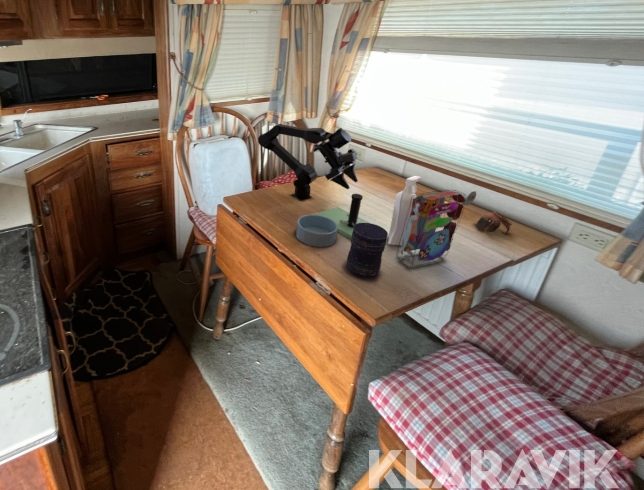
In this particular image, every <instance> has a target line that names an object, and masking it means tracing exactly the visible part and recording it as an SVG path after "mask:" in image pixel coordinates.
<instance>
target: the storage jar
mask: <svg viewBox="0 0 644 490" xmlns="http://www.w3.org/2000/svg"><path fill="white" fill-rule="evenodd" d="M388 237H389V232H388V231H387V229H385V228H384V227H382V226H380V225H378V224H375V223H371V222H369V223H358V224H356V225H354V228H353V233H352V237H351V239H350V248H349V250H348V254H347V257H346V265H345V269H346V271H347V272H348V273H349V274H350V275H352V276H354V277H355V278H357V279H359V280H365V281H366V280H367V281H369V280H370V281H371V280H375V279H377V278H378V276H379V272H380V270H381V266H382V256H383V253H384V251H385V249H386V245H387V240H388Z"/></svg>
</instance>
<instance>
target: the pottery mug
mask: <svg viewBox="0 0 644 490" xmlns="http://www.w3.org/2000/svg"><path fill="white" fill-rule="evenodd" d="M501 225H503V226H504V227H505V228H506V230H505V232H504V234H508V233H509V232H510V230H511V226H512V225H513V223H512V222H511V221H510V220H509V219H507V218H506V217H505V216H503V215H501V214H500V213H499V212H498V211H495V210H492V211H491V212H488V213H485V214H483V215H482V216H481V217H480V218H479V219H478V220H477V222H476V223H475V226H476V228H478V230H479V231H481V232H484V230H485V231H486V232H487V233H494V232H495V231H496V230H497V229H499V228H500V227H501Z"/></svg>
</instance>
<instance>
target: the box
mask: <svg viewBox="0 0 644 490" xmlns="http://www.w3.org/2000/svg"><path fill="white" fill-rule="evenodd" d="M415 196H416V198H415V199H414V198H413V203H412V210H411V214H410V217H409V220H408V222H407V226H406V231H405V234H404V236H403V241H402V246H401V248H400V246H399V245H397V250H396V253H395V254H396V255H395V256H396V258H397V259H398V260H399V263H401V264H402V265H403V266H405V267H406V268H407V269H409V268H412V267H414V265H413V263H414V260H415V257H416V256H417V254H416V253H417V252H418V258H417V261H418V262H425V263H426V262H428V264H427V265H426V264H425V267H428V266H430V265H432V261H433V265H436V264H437V263H439V260H444V258H446V257H447V255H448V254H445V253H446V252H447V253H449V251H450V249H451V247H452V243H453V240H454V238H453V237H454V235H455V233H456V232H457V230H458V228H459V226H460V222H461V219H462V218H463V213H464V212H463V211H464V210H465V207H464V206H469V205H471V203H473V202H474V201H475V199H476V197H477V191H475V190H474V191H471V192H470V193H469V194H468V195H467V194H466V193H464V192H462V191H460V192H459V191H457V190H456V189H452V190H450V189H445V190H444V191H441V192H440V190H437V191H434V192H433V191H429V192H427V193H426V192H424V193H423V192H422V194H421V193H420V194H418V195H417V194H416V195H415ZM465 196H466V198H465ZM412 197H413V196H412ZM412 197H411V201H412ZM451 198H452V199H451ZM450 200H453V202H450ZM411 201H410V203H411ZM447 201H448V202H447ZM446 202H447V203H446ZM410 206H411V205H410ZM410 206H409V207H410ZM408 210H410V209H408ZM407 213H408V212H407ZM408 214H409V213H408ZM442 214H444V215H443V217H441V216H442ZM445 215H446V216H447V217H445ZM406 216H407V215H406ZM407 217H408V216H407ZM405 220H407V219H405ZM454 221H457V223H456V222H454ZM405 223H406V222H405ZM405 223H404V226H405ZM440 228H441V229H440ZM437 229H440V230H437ZM403 231H404V229H403ZM402 233H403V232H402ZM402 235H403V234H402ZM402 235H401V237H402ZM400 240H401V239H400ZM399 244H400V242H399ZM399 251H400V254H401V255H402V256H400V257H398V255H399V253H398V252H399ZM412 251H414V252H412ZM405 252H406V253H407V255H404V253H405ZM442 256H444V257H442ZM403 257H404V258H403ZM410 257H412V260H411V258H410ZM400 258H402V259H400ZM438 258H440V259H438ZM436 259H437V260H436ZM403 260H405V261H406V263H407V264H411V265H410V266H409V267H408V266H407V265H405V263H404V262H403ZM434 260H435V261H434ZM430 261H431V262H430ZM430 263H431V264H430ZM417 266H418V264H417V265H415V267H416V269H417V268H420V267H423V266H424V263H422V264H421V265H419V266H418V267H417Z"/></svg>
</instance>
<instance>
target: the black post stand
mask: <svg viewBox="0 0 644 490" xmlns="http://www.w3.org/2000/svg"><path fill="white" fill-rule="evenodd" d="M363 198H364V196H363V194H360V193H351V203H350V208H349V211H348V212H349V214H347V217H348V221H344V220H340V223H343V224H347V226H348V227H351V228H354V225H356V224H358V223H364V222H357V219H358V217H359V213H360V209H361V204H362V200H363Z"/></svg>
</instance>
